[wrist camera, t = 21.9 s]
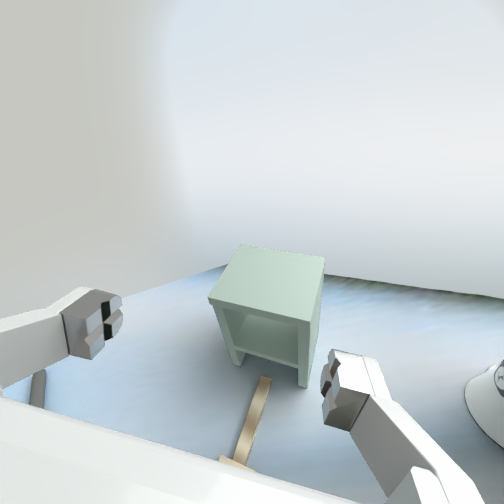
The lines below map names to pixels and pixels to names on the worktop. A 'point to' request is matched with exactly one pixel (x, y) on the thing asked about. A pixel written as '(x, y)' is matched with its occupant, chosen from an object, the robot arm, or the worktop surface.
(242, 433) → the turner
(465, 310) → the worktop surface
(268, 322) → the shelf
